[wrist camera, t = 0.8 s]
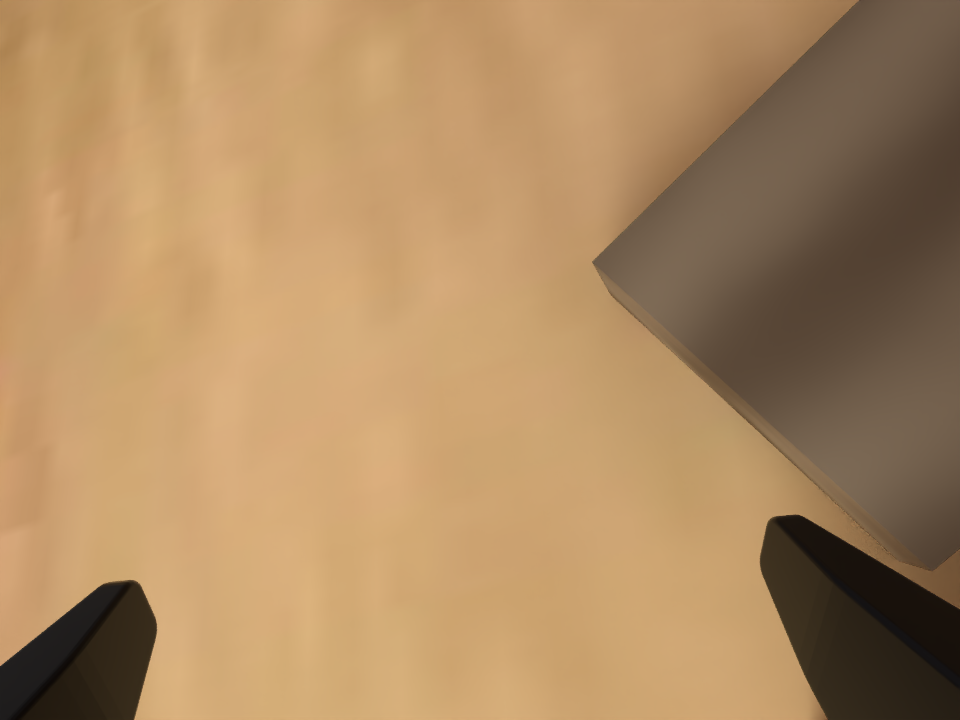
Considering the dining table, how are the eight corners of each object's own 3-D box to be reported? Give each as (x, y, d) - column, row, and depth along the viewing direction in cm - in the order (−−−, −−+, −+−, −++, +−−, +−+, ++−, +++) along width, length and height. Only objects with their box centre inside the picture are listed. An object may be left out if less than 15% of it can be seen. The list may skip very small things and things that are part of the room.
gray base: (1297, 231, 14) (1427, 167, 12) (898, 560, 16) (932, 571, 13) (889, 24, 19) (915, -56, 16) (610, 294, 20) (592, 262, 18)
